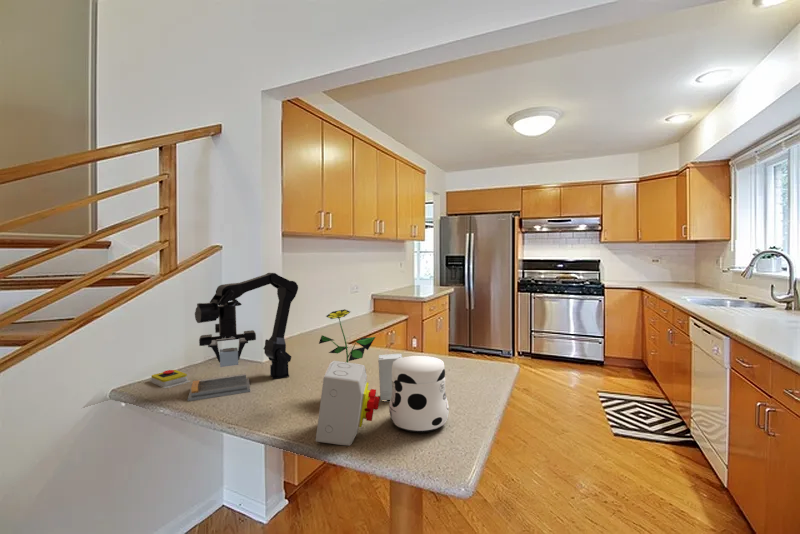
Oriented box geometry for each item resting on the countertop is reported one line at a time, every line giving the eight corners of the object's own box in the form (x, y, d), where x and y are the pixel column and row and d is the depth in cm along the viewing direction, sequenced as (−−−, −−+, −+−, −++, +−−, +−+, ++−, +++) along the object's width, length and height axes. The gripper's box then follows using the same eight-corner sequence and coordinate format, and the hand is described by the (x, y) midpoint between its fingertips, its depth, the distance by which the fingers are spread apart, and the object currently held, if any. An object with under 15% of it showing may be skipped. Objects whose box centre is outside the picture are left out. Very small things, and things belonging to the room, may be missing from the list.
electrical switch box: (371, 454, 99) (381, 379, 98) (314, 446, 99) (324, 371, 98) (375, 428, 113) (384, 362, 113) (326, 421, 114) (334, 355, 113)
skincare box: (403, 394, 134) (402, 353, 133) (404, 401, 128) (403, 357, 127) (379, 395, 134) (378, 353, 133) (379, 402, 127) (378, 358, 127)
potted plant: (315, 395, 134) (313, 311, 133) (365, 387, 141) (364, 307, 140) (326, 415, 118) (323, 319, 116) (382, 405, 125) (381, 314, 124)
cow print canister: (460, 422, 112) (459, 361, 111) (424, 444, 99) (423, 376, 98) (415, 406, 124) (414, 351, 123) (377, 425, 111) (376, 364, 110)
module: (237, 360, 144) (237, 346, 144) (238, 364, 139) (237, 350, 139) (220, 362, 142) (219, 348, 142) (220, 367, 137) (219, 352, 136)
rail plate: (248, 380, 151) (248, 370, 151) (250, 391, 139) (249, 380, 139) (191, 388, 143) (191, 378, 143) (187, 401, 131) (187, 389, 131)
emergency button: (173, 365, 160) (190, 371, 151) (173, 376, 160) (191, 382, 151) (148, 371, 152) (165, 378, 143) (148, 382, 152) (165, 390, 144)
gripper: (253, 313, 151) (254, 352, 152) (200, 317, 143) (201, 358, 144) (255, 317, 141) (256, 359, 142) (198, 322, 133) (200, 366, 134)
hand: (229, 360), depth 141 cm, fingers closed on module, 6 cm apart
